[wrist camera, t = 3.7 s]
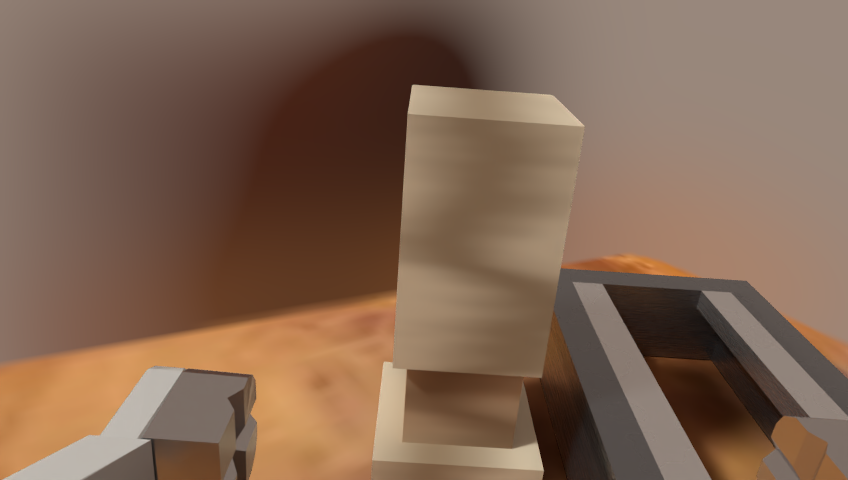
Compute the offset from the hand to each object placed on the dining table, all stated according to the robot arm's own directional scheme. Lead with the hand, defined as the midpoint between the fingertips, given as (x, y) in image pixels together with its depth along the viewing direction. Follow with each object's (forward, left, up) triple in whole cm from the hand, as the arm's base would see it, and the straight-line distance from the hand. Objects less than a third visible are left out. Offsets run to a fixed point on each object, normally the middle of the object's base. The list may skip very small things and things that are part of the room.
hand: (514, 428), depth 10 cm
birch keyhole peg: (0, -12, -11) cm, 17 cm away
